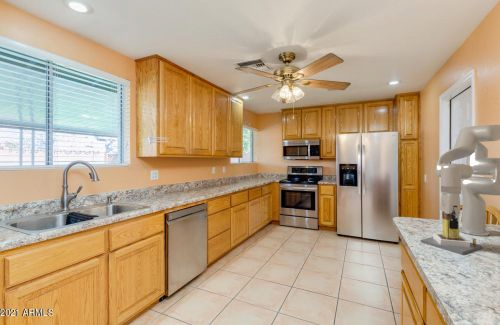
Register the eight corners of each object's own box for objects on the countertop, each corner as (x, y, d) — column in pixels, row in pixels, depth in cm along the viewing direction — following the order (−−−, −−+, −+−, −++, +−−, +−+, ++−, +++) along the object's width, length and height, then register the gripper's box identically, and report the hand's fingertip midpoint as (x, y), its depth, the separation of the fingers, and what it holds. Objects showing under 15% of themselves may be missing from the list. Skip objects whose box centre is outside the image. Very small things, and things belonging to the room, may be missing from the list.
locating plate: (440, 237, 126) (440, 229, 126) (482, 248, 111) (482, 239, 111) (420, 242, 119) (420, 233, 119) (461, 254, 104) (462, 245, 104)
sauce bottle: (461, 240, 114) (461, 199, 113) (456, 243, 111) (457, 201, 110) (444, 236, 120) (444, 197, 119) (439, 239, 116) (439, 199, 115)
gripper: (434, 187, 124) (434, 221, 124) (448, 192, 108) (448, 231, 108) (452, 187, 121) (452, 222, 122) (469, 193, 105) (469, 233, 106)
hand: (450, 226), depth 115 cm, fingers closed on sauce bottle, 6 cm apart
